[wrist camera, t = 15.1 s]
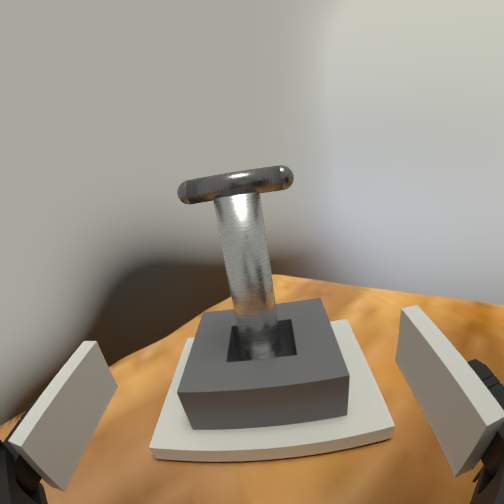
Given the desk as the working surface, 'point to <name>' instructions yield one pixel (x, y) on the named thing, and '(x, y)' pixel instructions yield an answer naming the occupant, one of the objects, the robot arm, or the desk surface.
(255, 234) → the chuck key
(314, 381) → the chuck block
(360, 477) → the desk surface
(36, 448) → the robot arm
